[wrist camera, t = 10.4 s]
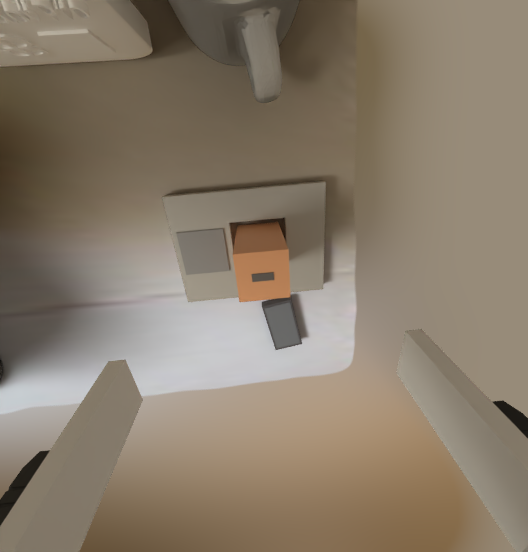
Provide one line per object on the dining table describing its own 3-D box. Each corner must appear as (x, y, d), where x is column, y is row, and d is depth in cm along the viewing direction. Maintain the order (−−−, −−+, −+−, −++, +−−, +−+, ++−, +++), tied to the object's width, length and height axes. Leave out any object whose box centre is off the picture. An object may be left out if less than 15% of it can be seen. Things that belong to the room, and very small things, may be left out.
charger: (242, 262, 29) (239, 302, 22) (237, 225, 27) (232, 254, 20) (280, 259, 29) (290, 297, 22) (277, 221, 28) (288, 249, 20)
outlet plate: (190, 296, 31) (187, 302, 30) (165, 195, 26) (161, 197, 24) (320, 284, 31) (323, 289, 30) (322, 180, 26) (326, 182, 25)
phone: (275, 344, 35) (275, 350, 34) (261, 302, 32) (262, 306, 31) (300, 338, 35) (302, 344, 34) (289, 295, 32) (290, 299, 31)
